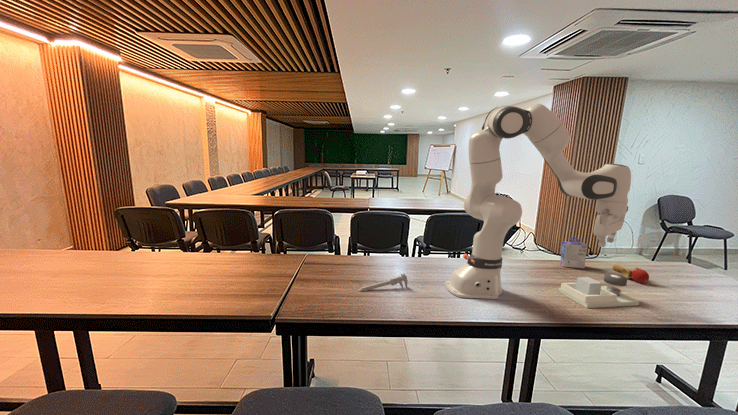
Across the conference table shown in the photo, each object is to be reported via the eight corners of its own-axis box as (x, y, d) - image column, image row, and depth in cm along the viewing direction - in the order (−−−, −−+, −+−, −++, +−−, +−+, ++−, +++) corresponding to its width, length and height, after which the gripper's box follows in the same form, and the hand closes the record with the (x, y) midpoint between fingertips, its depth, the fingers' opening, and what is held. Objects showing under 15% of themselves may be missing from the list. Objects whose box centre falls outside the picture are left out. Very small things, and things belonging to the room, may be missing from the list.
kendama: (605, 272, 153) (634, 282, 135) (608, 260, 152) (638, 268, 134) (621, 276, 152) (652, 286, 134) (624, 263, 152) (656, 272, 134)
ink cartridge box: (580, 265, 158) (584, 237, 156) (585, 268, 153) (589, 240, 150) (558, 263, 160) (562, 236, 158) (563, 267, 155) (567, 239, 152)
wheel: (615, 286, 117) (616, 280, 116) (599, 279, 123) (600, 273, 123) (631, 286, 118) (632, 279, 117) (614, 278, 124) (615, 272, 124)
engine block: (587, 298, 116) (590, 283, 115) (575, 291, 122) (577, 277, 121) (599, 298, 117) (601, 283, 116) (586, 291, 123) (588, 277, 122)
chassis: (586, 307, 112) (588, 297, 111) (558, 291, 126) (559, 282, 125) (638, 305, 115) (640, 295, 115) (605, 289, 129) (606, 280, 128)
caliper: (406, 286, 127) (407, 272, 126) (407, 287, 126) (407, 273, 125) (357, 290, 122) (358, 275, 121) (358, 292, 121) (358, 276, 120)
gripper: (612, 212, 105) (607, 251, 107) (629, 206, 117) (624, 241, 119) (590, 210, 110) (586, 247, 112) (609, 204, 122) (604, 238, 124)
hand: (606, 244), depth 116 cm, fingers open, 8 cm apart
